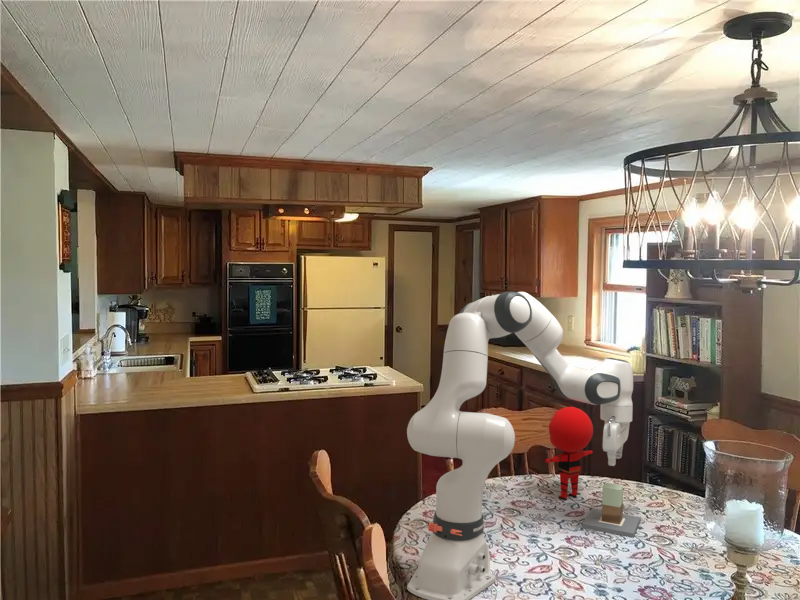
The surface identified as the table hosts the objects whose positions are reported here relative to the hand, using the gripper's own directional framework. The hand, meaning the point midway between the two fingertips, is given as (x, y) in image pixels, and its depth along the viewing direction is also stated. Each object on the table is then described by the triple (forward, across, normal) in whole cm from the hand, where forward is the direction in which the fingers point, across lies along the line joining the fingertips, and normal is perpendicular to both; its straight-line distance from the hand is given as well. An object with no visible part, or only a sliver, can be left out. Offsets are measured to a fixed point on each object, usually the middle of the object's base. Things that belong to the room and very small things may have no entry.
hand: (615, 461), depth 181 cm
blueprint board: (+19, +1, +1) cm, 19 cm away
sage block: (+12, +1, +1) cm, 12 cm away
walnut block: (+17, +1, +1) cm, 17 cm away
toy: (+18, +17, +17) cm, 30 cm away
